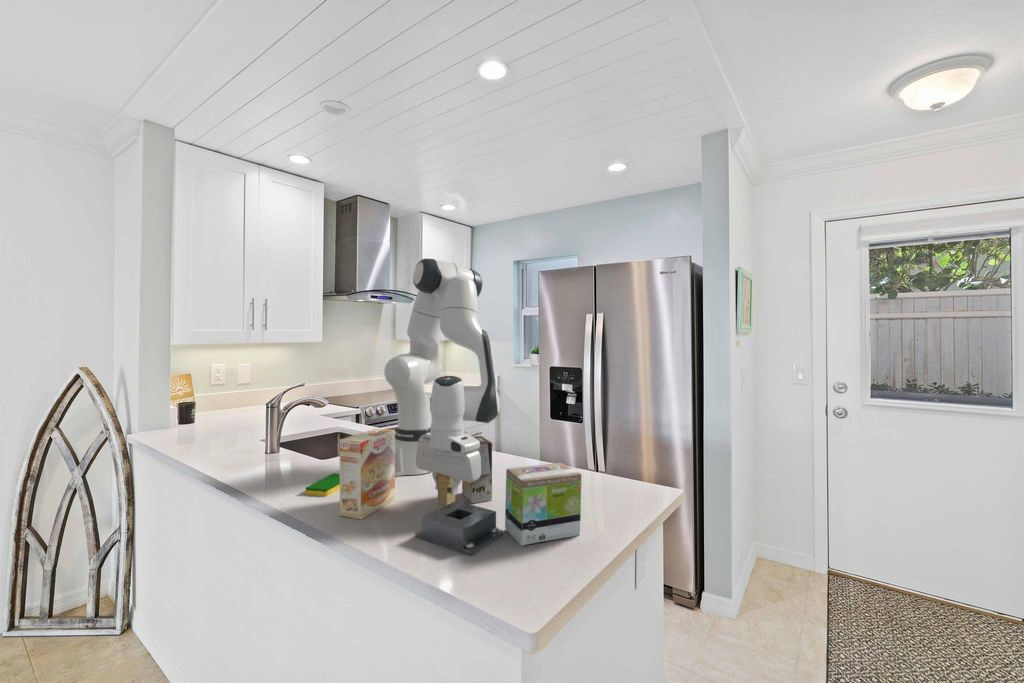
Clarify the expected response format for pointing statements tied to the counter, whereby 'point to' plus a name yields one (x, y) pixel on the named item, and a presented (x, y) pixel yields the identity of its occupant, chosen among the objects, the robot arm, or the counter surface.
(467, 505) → the grey square socket block
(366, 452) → the coffeecake box
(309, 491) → the dish sponge
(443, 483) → the wooden square peg
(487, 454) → the coffee box
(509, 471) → the tea box
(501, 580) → the counter surface
